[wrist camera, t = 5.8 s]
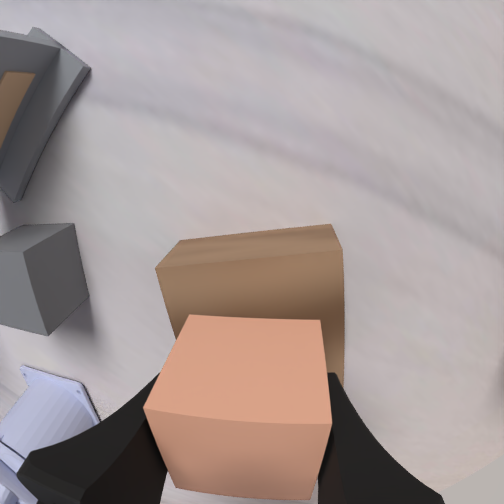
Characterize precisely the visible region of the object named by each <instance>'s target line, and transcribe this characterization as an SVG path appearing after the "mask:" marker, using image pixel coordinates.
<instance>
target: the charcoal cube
mask: <svg viewBox="0 0 504 504" xmlns="http://www.w3.org/2000/svg"><path fill="white" fill-rule="evenodd" d="M88 297H89V293H88V289H87V284H86V280H85V276H84V271H83V267H82V262H81V257H80V252H79V247H78V242H77V236H76V231H75V225H74V223H64V224H37V225H22V226H20V227H18V228H16V229H14V230H12V231H10V232H8V233H6V234H4V235H2V236H0V324H1V325H5V326H8V327H12V328H16V329H20V330H24V331H28V332H32V333H36V334H40V335H45V336H49V335H50V334H51V333H52V332H53V331H54V330H55V329H56V328H57V327H58V326H59V325H60V324H61V323H62V322H63V321H64V320H65V319H66V318H67V317H68V316H69V315H70V314H71V313H72V312H73V311H74V310H75V309H76V308H77V307H78V306H79V305H80V304H81V303H82V302H83V301H84V300H85V299H87V298H88Z"/></svg>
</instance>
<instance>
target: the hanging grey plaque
mask: <svg viewBox="0 0 504 504" xmlns="http://www.w3.org/2000/svg"><path fill="white" fill-rule="evenodd" d="M90 69H91V67H89V66H88V65H87V64H86V63H84V62H83V61H82V60H80V59H79V58H78V57H77V56H75V55H74V54H73V53H71V52H70V51H69V50H68V49H66V48H65V47H64V46H62V45H61V44H60V43H58V42H57V41H56V40H54V39H53V38H52V37H50V36H49V35H48V34H46V33H45V32H44V31H42V30H41V29H39V28H35V27H32V29H31V31H30V32H29V34H28V35H24V34H19V33H14V32H9V31H3V30H0V188H1V189H2V190H3V191H4V192H5V194H6V195H7V196H8V197H9V198H10V200H11V201H12V202H13V203H14V202H17V201H19V200H21V198H22V196H23V193H24V191H25V189H26V186H27V184H28V182H29V179H30V177H31V175H32V172H33V170H34V168H35V166H36V164H37V161H38V159H39V157H40V155H41V153H42V151H43V149H44V147H45V145H46V143H47V141H48V139H49V137H50V135H51V133H52V131H53V130H54V128H55V126H56V124H57V122H58V120H59V119H60V117H61V115H62V113H63V112H64V110H65V108H66V106H67V105H68V103H69V101H70V100H71V98H72V96H73V95H74V93H75V92H76V90H77V88H78V87H79V85H80V84H81V82H82V81H83V79H84V78H85V76H86V75H87V73H88V72H89V70H90Z"/></svg>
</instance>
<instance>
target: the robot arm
mask: <svg viewBox="0 0 504 504" xmlns="http://www.w3.org/2000/svg"><path fill="white" fill-rule="evenodd" d="M20 371H21V373H22V375H23V377H24V379H25V381H26V383H27V385H28V388H27V389H26V391H25V392H24V393H23V394H22V396H21V397H20V398H19V399H18V400H17V402H16V403H15V404H14V405H13V407H12V408H11V409H10V411H9V412H8V413H7V414H6V416H5V417H4V418H3V419H2V421H1V422H0V504H160V500H161V496H162V491H163V487H164V483H165V479H166V475H167V471H168V469H167V467H166V465H165V463H164V460H163V458H162V455H161V453H160V451H159V448H158V446H157V443H156V441H155V438H154V436H153V433H152V431H151V428H150V425H149V423H148V420H147V417H146V414H145V412H144V409H143V407H144V405H145V403H146V401H147V399H148V397H149V395H150V393H151V391H152V388H153V386H154V384H155V382H156V380H157V378H158V376H159V374H160V373H159V374H158V375H157V376H156V377H155V378H154V379H153V380H152V381H150V382H149V383H148V384H147V385H146V386H145V387H144V388H143V389H142V390H141V391H140V392H139V393H138V394H136V395H135V396H134V397H133V398H132V399H131V400H130V401H128V402H127V403H126V404H125V405H123V406H122V407H121V408H120V409H118V410H117V411H116V412H114V413H113V414H112V415H110V416H109V417H107V418H106V419H104V420H103V421H101V422H100V421H99V419H98V417H97V415H96V413H95V411H94V409H93V407H92V405H91V402H90V400H89V398H88V396H87V394H86V391H85V389H84V387H83V385H82V384H81V383H79V382H77V381H73V380H69V379H66V378H62V377H58V376H55V375H52V374H48V373H45V372H42V371H39V370H36V369H32V368H29V367H26V366H23V365H22V366H21V367H20ZM327 378H328V387H329V396H330V406H331V416H332V426H331V430H330V434H329V438H328V442H327V445H326V449H325V453H324V456H323V460H322V463H321V466H320V470H319V473H318V504H445V503H444V501H443V498H442V496H441V495H440V494H438V493H437V492H435V491H434V490H432V489H431V488H429V487H427V486H426V485H424V484H423V483H422V482H420V481H419V480H418V479H416V478H415V477H414V476H413V475H411V474H410V473H409V472H408V471H407V470H406V469H404V468H403V467H402V466H401V465H400V464H399V463H398V462H397V461H396V460H395V459H394V458H393V457H392V456H391V455H390V454H389V453H388V452H387V451H386V450H385V449H384V448H383V447H382V446H381V444H380V443H379V442H378V441H377V440H376V439H375V437H374V436H373V435H372V433H371V432H370V431H369V429H368V428H367V427H366V425H365V424H364V422H363V421H362V419H361V418H360V416H359V415H358V413H357V412H356V410H355V408H354V407H353V405H352V404H351V402H350V400H349V398H348V396H347V395H346V393H345V391H344V389H343V387H342V385H341V383H340V381H339V378H338V376H337V374H336V373H335V372H327Z"/></svg>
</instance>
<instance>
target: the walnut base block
mask: <svg viewBox="0 0 504 504" xmlns="http://www.w3.org/2000/svg"><path fill="white" fill-rule="evenodd" d="M155 270H156V273H157V277H158V281H159V284H160V288H161V291H162V295H163V298H164V302H165V305H166V309H167V312H168V315H169V319H170V322H171V325H172V328H173V331H174V335H175V338H176V340H177V338H178V336H179V334H180V332H181V330H182V328H183V326H184V324H185V322H186V320H187V318H188V316H189V314H190V315H205V316H222V317H241V318H264V319H299V320H320V323H321V330H322V337H323V345H324V353H325V361H326V369H327V372H335V373H336V374H337V376H338V378H339V381H340V383H341V385H342V387H343V383H344V329H345V328H344V272H343V250H342V247H341V245H340V243H339V240H338V238H337V236H336V234H335V231H334V229H333V227H332V225H331V224H325V225H315V226H305V227H296V228H286V229H277V230H267V231H258V232H249V233H240V234H231V235H222V236H214V237H205V238H196V239H188V240H180V241H179V242H178V243H177V244H176V246H175V247H174V248H173V249H172V250H171V251H170V252H169V253H168V254H167V255H166V256H165V258H164V259H163V260H162V261H161V262H160V263H159V264H158V265H157V266H156V267H155Z"/></svg>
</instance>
